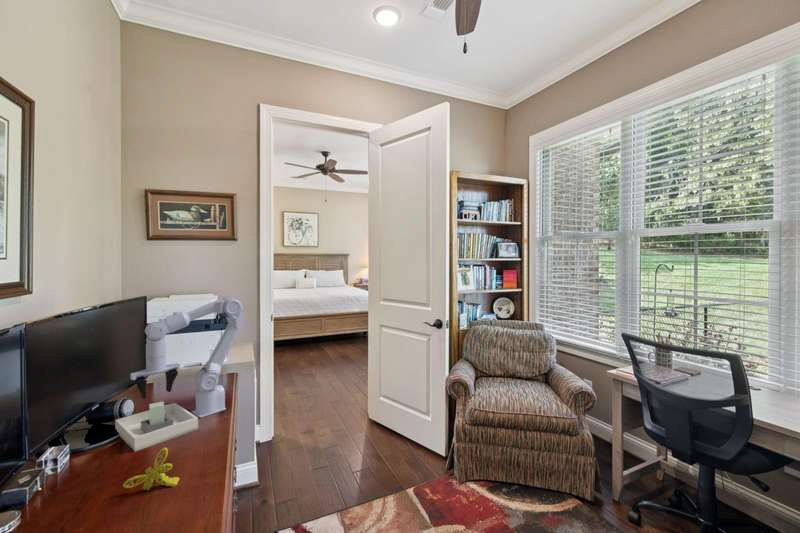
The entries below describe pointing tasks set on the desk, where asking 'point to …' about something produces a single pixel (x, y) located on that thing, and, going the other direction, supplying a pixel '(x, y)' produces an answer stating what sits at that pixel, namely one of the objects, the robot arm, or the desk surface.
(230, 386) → the desk surface
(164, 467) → the decorative insect
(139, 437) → the box
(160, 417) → the connector
